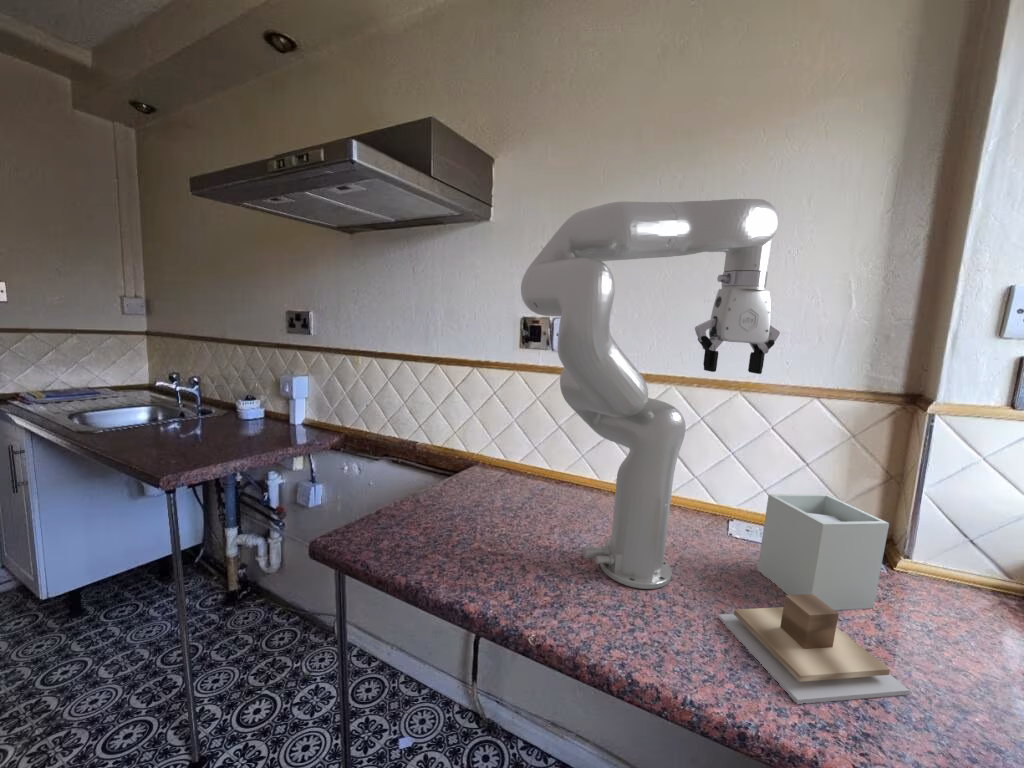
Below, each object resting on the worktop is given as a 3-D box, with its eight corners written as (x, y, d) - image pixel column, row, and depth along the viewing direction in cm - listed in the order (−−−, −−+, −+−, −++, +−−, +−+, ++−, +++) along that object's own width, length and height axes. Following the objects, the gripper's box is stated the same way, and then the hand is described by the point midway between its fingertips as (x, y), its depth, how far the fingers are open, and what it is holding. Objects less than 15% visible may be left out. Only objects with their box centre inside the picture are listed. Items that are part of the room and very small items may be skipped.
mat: (797, 704, 55) (797, 699, 55) (718, 618, 71) (718, 614, 71) (908, 694, 58) (909, 690, 58) (808, 613, 73) (809, 609, 73)
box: (808, 611, 74) (823, 524, 72) (757, 570, 86) (768, 494, 83) (873, 608, 76) (889, 523, 74) (814, 568, 88) (826, 494, 85)
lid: (798, 688, 57) (806, 639, 56) (732, 620, 69) (738, 578, 68) (887, 681, 59) (896, 633, 58) (808, 616, 71) (814, 576, 70)
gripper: (713, 278, 81) (702, 372, 84) (799, 284, 84) (785, 376, 87) (691, 281, 89) (681, 368, 91) (770, 287, 92) (758, 371, 94)
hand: (732, 372), depth 89 cm, fingers open, 9 cm apart
